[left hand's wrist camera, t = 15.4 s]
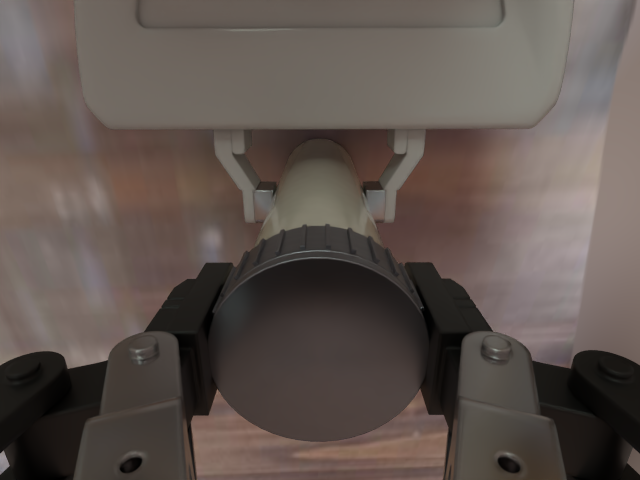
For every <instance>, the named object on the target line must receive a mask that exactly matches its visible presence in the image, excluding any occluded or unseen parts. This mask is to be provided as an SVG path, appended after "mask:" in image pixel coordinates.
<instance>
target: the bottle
mask: <svg viewBox="0 0 640 480" xmlns="http://www.w3.org/2000/svg"><path fill="white" fill-rule="evenodd" d="M303 224H307V226H325V224H330V226H331V227H339V228H343V229H348V227H349V228H352V230H353V231H354V232H356V233H359V234H361V235H364V236H366V237H369V236H371V237H373V240H374V241H375V242H376V243H378V244H379V245H380V246H382V247H383V248H384V249H385V247H384V245H383V242H382V239H381V237H380V234H379V231H378V229H377V226H376V223H375V220H374V218H373V215H372V212H371V210H370V207H369V204H368V202H367V199H366V196H365V194H364V191H363V188H362V186H361V183H360V180H359V178H358V175H357V172H356V170H355V167H354V164H353V162H352V159H351V157H350V155H349V154H348V152H347V151H346V150H345V149H344V148H343V147H342V146H341V145H339V144H338V143H336V142H334V141H331V140H328V139H312V140H308V141H306V142H304V143H302V144H300V145H299V146H298V147H296V148H295V149H294V150H293V152H292V153H291V154H290V156H289V158H288V161H287V163H286V166H285V168H284V171H283V173H282V176H281V179H280V181H279V184H278V186H277V189H276V191H275V194H274V196H273V199H272V202H271V204H270V207H269V209H268V212H267V214H266V217H265V220H264V222H263V225H262V227H261V230H260V232H259V235H258V238H257V240H256V243H255V245H254V248H255V247H256V246H257V245H259V243H260V240H261V239H263V238H264V239H265V240H266V239H268V238H270V237H272V236H274V235H276V234H279V233H280V230H282V229H285V231H287V230H291V229H295V228H299V227H302V225H303Z"/></svg>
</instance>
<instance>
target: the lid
mask: <svg viewBox="0 0 640 480" xmlns="http://www.w3.org/2000/svg"><path fill="white" fill-rule="evenodd" d="M423 311H425V310H424V307H423V305H422V303H421V300H420V298H419V296H418V294H417V291H416V289H415V287H414V285H413V282H412V280H410V279H409V277H408V274H407V272H406V270H405V268H404V265H403V264H402V263H400V264H398V262H397V261H396V260H395V258H394V257H393V256H392V253H391V251H390V249H389V248H386V249H384V248H383V247H382V246H380V245H379V244H378V243H376V242H375V241H374V240H373V237H371V236H369V237H366V236H364V235H361V234H359V233H356V232H354V231H353V230H352V228H349V227H348V229H343V228H339V227H331V226H330V224H325V226H307V224H303V225H302V227H299V228H295V229H291V230H287V231H285V229H282V230H280V233H279V234H276V235H274V236H272V237H270V238H268V239H266V240H265V239H264V238H263V239H261V240H260V243H259V245H257V246H256V247H255V248H253V249H252V250H251V251H250V252H248V251H246V252H245V253H244V254H243V257H242V259H241V261H240V263H239V264H238V266H237V267H234V266H233V268H232V269H231V272H230V274H229V276H228V278H227V280H226V283H225V285H224V287H223V289H222V291H221V293H220V295H219V298H218V300H217V302H216V304H215V306H214V308H213V311H212V313H211V315H212V316H214V317H213V319H212V322H211V325H210V327H209V332H208V349H209V357H210V365H211V373H212V378H213V380H214V383H215V385H216V387H217V389H218V390H219V392H220V393H221V395H222V396H223V398H224V399H225V400H226V401H227V402H228V404H229V405H230V406H231V407H232V408H233V409H234V410H235V411H236V412H237V413H238V414H240V415H241V416H242V417H244V418H245V419H246V420H248V421H249V422H251V423H252V424H254V425H256V426H258V427H260V428H261V429H264V430H266V431H268V432H271V433H273V434H276V435H279V436H283V437H286V438H291V439H296V440H303V441H335V440H342V439H347V438H352V437H355V436H358V435H362V434H365V433H367V432H369V431H372V430H374V429H376V428H378V427H380V426H382V425H383V424H385V423H387V422H388V421H390V420H391V419H393V418H394V417H395V416H397V415H398V414H399V413H400V412H401V411H402V410H403V409H405V408H406V407H407V405H408V404H409V403H410V402H411V401H412V400H413V398H414V397H415V395H416V394H417V392H418V391H419V389H420V388H421V386H422V383H423V381H424V379H425V377H426V370H427V362H428V353H429V344H430V336H429V331H428V327H427V324H426V322H425V319H424V316H423V314H422V312H423Z"/></svg>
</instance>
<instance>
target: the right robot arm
mask: <svg viewBox="0 0 640 480" xmlns="http://www.w3.org/2000/svg"><path fill="white" fill-rule="evenodd" d="M573 8H574V0H74V18H75V34H76V46H77V56H78V65H79V73H80V80H81V87H82V92H83V97H84V100H85V104H86V106H87V107H88V109H89V110H90V111H91V112H92V113H93V114H94V115H95V116H96V117H97V118H98V119H99V121H100V122H101V123H102V124H103V125H104V126H105V127H107V128H109V129H113V130H213V137H214V147H215V155H216V157H217V158H218V160H219V161H220V162H221V164H222V165H223V167H224V168H225V170H226V171H227V173H228V174H229V175H230V177H231V178H232V180H233V181H234V183H235V184H236V185H237V187H238V188H239V190H242V192H243V205H244V218H245V222H246V223H263V222H264V220H265V217H266V214H267V212H268V209H269V207H270V204H271V202H272V199H273V196H274V194H275V191H276V189H277V185H276V182H261V180H260V179H259V177H258V175H257V174H256V172H255V170H254V169H253V167H252V166H251V164H250V162H249V161H248V159H247V157H246V156H245V154H244V153H245V152H246V151H247V150H248V149H249V148H250V147H251V146H252V133H251V129H388V133H387V145H388V146H389V147H390V148H391V149H392V150H393V151H394V152H395V154H394V156H393V157H392V159H391V161H390V162H389V164H388V165H387V167H386V169H385V170H384V172H383V174H382V175H381V177H380V178H379V180H378V181H371V182H363V191H364V194H365V196H366V199H367V202H368V204H369V207H370V210H371V212H372V215H373V218H374V220H375V223H393V222H394V219H395V207H396V193H397V190H400V188H401V187H402V185H403V184H404V182H405V181H406V180H407V178H408V177H409V175H410V174H411V172H412V171H413V169H414V168H415V167H416V165H417V164H418V162H419V161H420V159H421V158H422V156H423V155H424V146H425V135H426V129H530V128H533V127H535V126H536V125H537V124H538V123H539V122H540V121H541V120H542V119H543V118H544V117H545V116H546V115H547V114H548V112H549V111H550V110H551V109H552V108H553V107H554V106H555V104H556V102H557V100H558V97H559V94H560V90H561V86H562V82H563V77H564V72H565V66H566V61H567V55H568V48H569V42H570V35H571V26H572V18H573Z"/></svg>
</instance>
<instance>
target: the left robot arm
mask: <svg viewBox="0 0 640 480" xmlns="http://www.w3.org/2000/svg"><path fill="white" fill-rule="evenodd" d="M232 268H233V264H232V263H206V264H205V265H204V267H203V269H202V270H201V272H200V273H199V275H198V277H197V278H196V279H187V280H185V281H184V282H182V283H181V284H179V285H178V286H176V287H175V288H174V289H173V290H172V292H171V293H170V295H169V296H168V298H167V300H166V301H165V302H164V304H163V305H162V308H160V309H159V311H158V312H157V314H156V315H155V317H154V318H153V320H152V321H151V323H150V324H149V325H148V327H147V328H146V330H145V331H144V332H143V333H139V334H136V335H133V336H131V337H128V338H126V339H124V340H123V341H121V342H120V343H118V344H117V345H116V346H115V347H114V348H113V349H112V350H111V352H110V354H109V358H108V360H107V361H104V362H100V363H96V364H91V365H86V366H81V367H76V368H71V369H67V365H66V362H65V359H64V357H63V356H62V355H61V354H59V353H56V352H50V351H42V352H35V353H30V354H26V355H23V356H20V357H17V358H14V359H12V360H10V361H8V362H6V363H4V364H2V365H0V453H1V452H2V451H3V450H4V452H5V455H6V457H7V460H8V462H9V465H10V466H9V467H8V468H7V469H6V470H5V471H4V472H3V473H2V474H1V475H0V480H197V473H196V463H195V453H194V443H193V434H192V428H191V420H192V417H193V415H209V412H210V409H211V406H212V403H213V400H214V397H215V394H216V391H217V387H216V385H215V383H214V380H213V378H212V373H211V365H210V357H209V349H208V332H209V327H210V325H211V322H212V319H213V317H214V316H212V315H211V313H212V311H213V308H214V306H215V304H216V302H217V300H218V298H219V295H220V293H221V291H222V289H223V287H224V285H225V283H226V280H227V278H228V276H229V274H230V272H231V269H232ZM404 268H405V270H406V272H407V274H408V277H409V279H410V280H412V282H413V285H414V287H415V289H416V291H417V294H418V296H419V298H420V300H421V303H422V305H423V307H424V310H425V311H423V312H422V314H423V316H424V319H425V322H426V324H427V327H428V331H429V336H430V344H429V353H428V362H427V370H426V377H425V379H424V381H423V383H422V386H421V388H420V389H421V392H422V395H423V398H424V401H425V404H426V408H427V411H428V414H429V415H444V416H445V419H446V422H447V425H448V427H449V428H448V434H447V443H446V453H445V463H444V473H443V480H640V475H639V474H638V473H637V472H636V471H635V470H634V469H633V468H632V467H631V466H630V465H629V464H627V461H628V458H629V456H630V453H631V451H632V448H634V449H635V450H637V451H638V452H639V453H640V365H638V364H637V363H635V362H633V361H631V360H629V359H627V358H624V357H622V356H619V355H616V354H613V353H609V352H604V351H597V350H588V351H582V352H579V353H578V354H576V355H575V357H574V359H573V362H572V366H571V369H569V368H564V367H559V366H554V365H549V364H544V363H540V362H536V361H532V358H531V354H530V352H529V350H528V349H527V348H526V347H525V346H524V345H523V344H522V343H520V342H519V341H517V340H516V339H514V338H512V337H509V336H507V335H504V334H501V333H497V332H493V331H492V329H491V328H490V326H489V325H488V323H487V322H486V320H485V319H484V317H483V316H482V314H481V313H480V311H479V310H478V308H476V305H475V304H474V302H473V301H472V300H470V297H469V295H468V294H467V292H466V291H465V289H464V288H463V287H462V286H460V285H459V284H457V283H456V282H454V281H453V280H451V279H441V277H440V275H439V274H438V272H437V270H436V269H435V267H434V265H433V264H432V263H431V262H406V263H405V265H404Z"/></svg>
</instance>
